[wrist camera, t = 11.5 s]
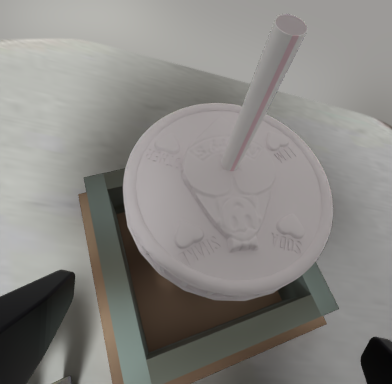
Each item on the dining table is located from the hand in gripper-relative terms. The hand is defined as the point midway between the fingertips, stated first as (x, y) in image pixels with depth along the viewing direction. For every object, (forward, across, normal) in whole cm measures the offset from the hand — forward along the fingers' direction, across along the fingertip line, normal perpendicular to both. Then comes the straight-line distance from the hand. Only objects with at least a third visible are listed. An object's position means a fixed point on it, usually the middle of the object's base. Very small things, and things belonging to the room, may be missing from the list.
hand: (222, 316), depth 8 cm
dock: (+9, 0, +4) cm, 10 cm away
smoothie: (+8, +1, +3) cm, 9 cm away
